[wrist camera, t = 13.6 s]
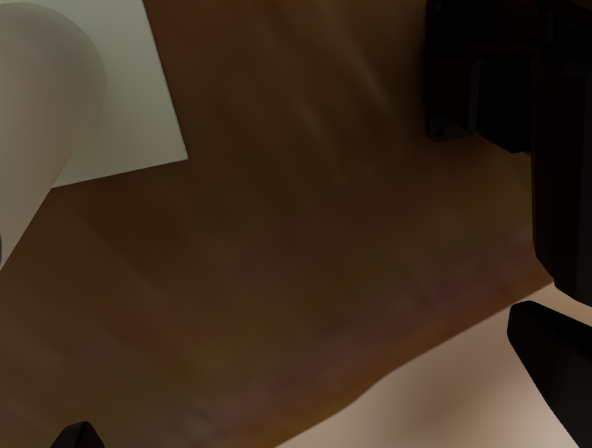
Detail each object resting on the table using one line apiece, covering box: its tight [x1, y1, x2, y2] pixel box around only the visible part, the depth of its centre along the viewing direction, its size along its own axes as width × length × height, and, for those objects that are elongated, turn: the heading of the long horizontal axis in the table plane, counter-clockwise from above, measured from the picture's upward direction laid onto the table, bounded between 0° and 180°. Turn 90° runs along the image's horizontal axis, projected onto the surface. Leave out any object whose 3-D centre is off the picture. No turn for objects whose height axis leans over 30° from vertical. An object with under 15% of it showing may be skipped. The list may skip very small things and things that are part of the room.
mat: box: [0, 0, 188, 188], centre depth 17 cm, size 9×9×1 cm
